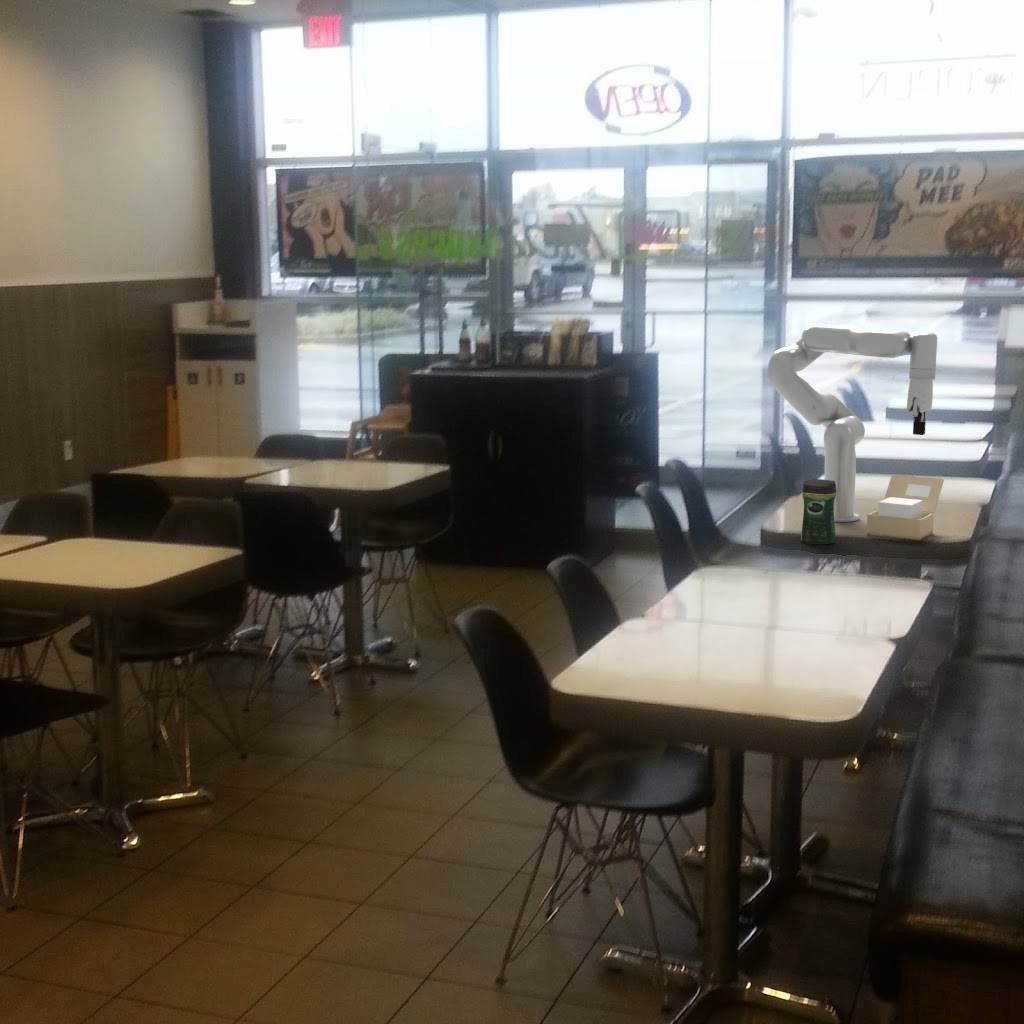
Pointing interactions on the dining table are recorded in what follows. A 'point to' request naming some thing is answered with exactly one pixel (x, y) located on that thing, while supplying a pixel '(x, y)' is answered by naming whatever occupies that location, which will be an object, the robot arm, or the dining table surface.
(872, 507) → the dining table surface
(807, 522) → the coffee jar
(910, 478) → the lid
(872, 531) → the mailer box
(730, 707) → the dining table surface
